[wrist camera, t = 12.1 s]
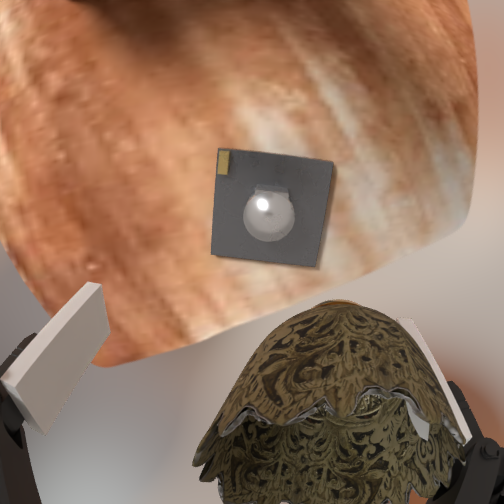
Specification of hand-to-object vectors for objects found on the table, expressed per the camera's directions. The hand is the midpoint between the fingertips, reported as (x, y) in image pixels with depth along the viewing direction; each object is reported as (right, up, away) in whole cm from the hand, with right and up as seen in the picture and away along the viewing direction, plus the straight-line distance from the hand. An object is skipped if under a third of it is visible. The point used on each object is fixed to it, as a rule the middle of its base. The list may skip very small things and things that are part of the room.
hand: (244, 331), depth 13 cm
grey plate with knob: (+2, +8, +21) cm, 22 cm away
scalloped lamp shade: (+4, 0, +1) cm, 4 cm away
